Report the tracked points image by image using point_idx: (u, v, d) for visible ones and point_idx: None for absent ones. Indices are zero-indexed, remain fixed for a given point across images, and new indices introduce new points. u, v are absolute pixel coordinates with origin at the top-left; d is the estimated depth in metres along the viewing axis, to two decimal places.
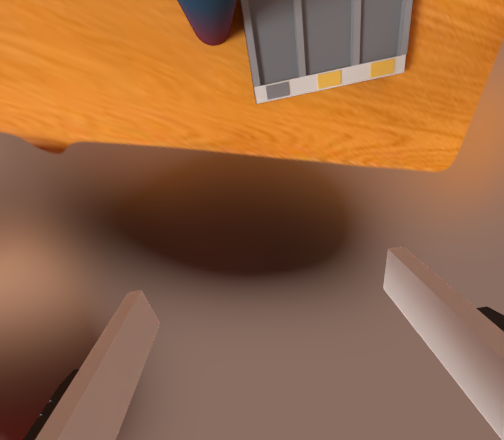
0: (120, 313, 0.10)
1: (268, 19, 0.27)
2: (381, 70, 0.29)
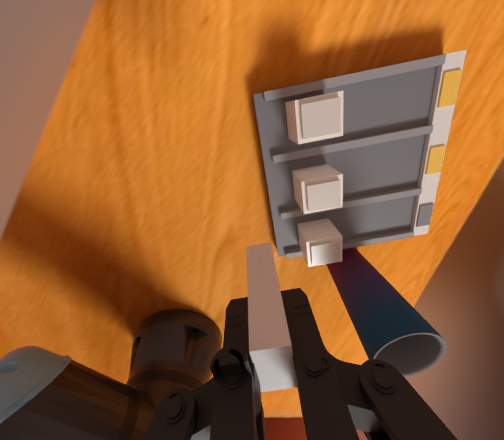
0: (252, 259, 0.12)
1: (360, 223, 0.29)
2: (451, 90, 0.21)
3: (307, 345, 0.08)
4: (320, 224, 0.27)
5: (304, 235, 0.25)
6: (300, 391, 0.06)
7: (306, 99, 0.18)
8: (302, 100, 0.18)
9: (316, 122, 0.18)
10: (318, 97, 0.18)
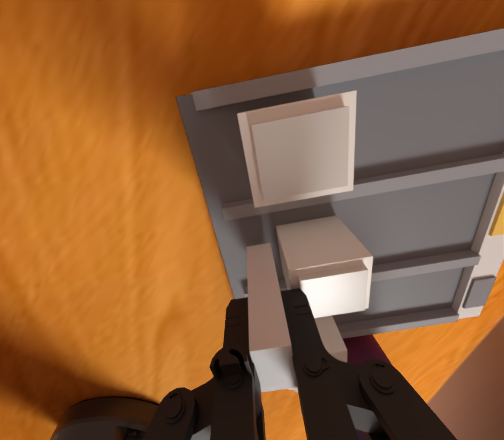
0: (252, 259, 0.12)
1: (374, 301, 0.18)
2: None
3: (307, 345, 0.08)
4: None
5: None
6: (300, 391, 0.06)
7: (266, 111, 0.07)
8: (256, 114, 0.07)
9: (291, 165, 0.08)
10: (295, 107, 0.07)
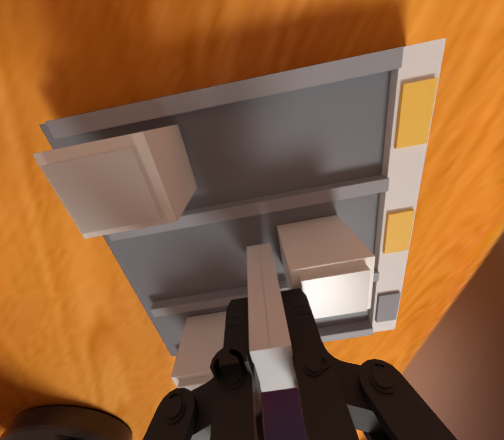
0: (252, 259, 0.12)
1: None
2: (419, 117, 0.11)
3: (307, 345, 0.08)
4: (216, 325, 0.17)
5: (179, 355, 0.15)
6: (300, 391, 0.06)
7: (59, 152, 0.08)
8: (51, 154, 0.08)
9: (96, 201, 0.08)
10: (87, 147, 0.08)
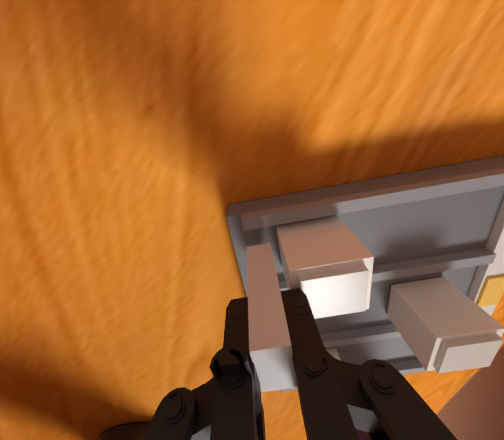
0: (252, 259, 0.12)
1: (379, 351, 0.21)
2: None
3: (307, 345, 0.08)
4: None
5: None
6: (300, 391, 0.06)
7: (309, 269, 0.10)
8: (302, 270, 0.10)
9: (326, 301, 0.11)
10: (330, 266, 0.10)
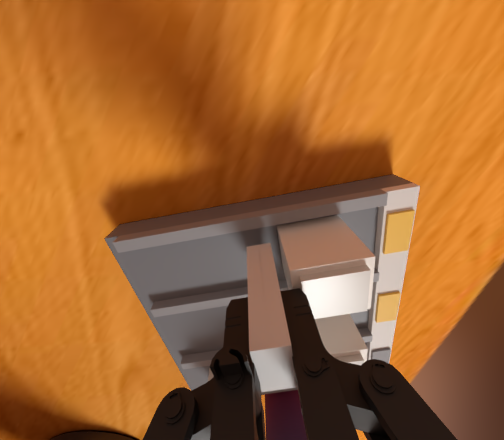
0: (252, 259, 0.12)
1: None
2: (401, 234, 0.14)
3: (307, 345, 0.08)
4: None
5: None
6: (300, 391, 0.06)
7: (310, 269, 0.10)
8: (303, 270, 0.10)
9: (327, 301, 0.11)
10: (331, 266, 0.10)
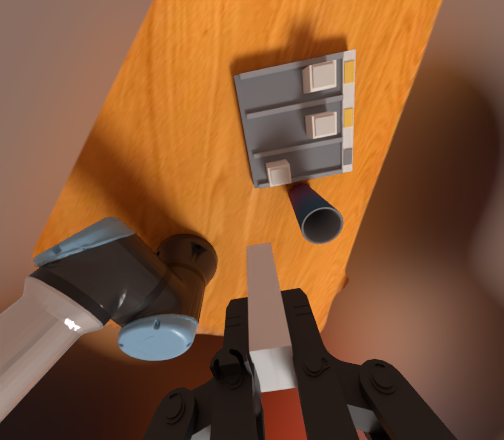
0: (252, 259, 0.12)
1: (307, 163, 0.44)
2: (350, 73, 0.36)
3: (307, 345, 0.08)
4: (279, 161, 0.42)
5: (267, 166, 0.40)
6: (300, 391, 0.06)
7: (315, 64, 0.32)
8: (313, 65, 0.32)
9: (321, 78, 0.33)
10: (322, 63, 0.32)
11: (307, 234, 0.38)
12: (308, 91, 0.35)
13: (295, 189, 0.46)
